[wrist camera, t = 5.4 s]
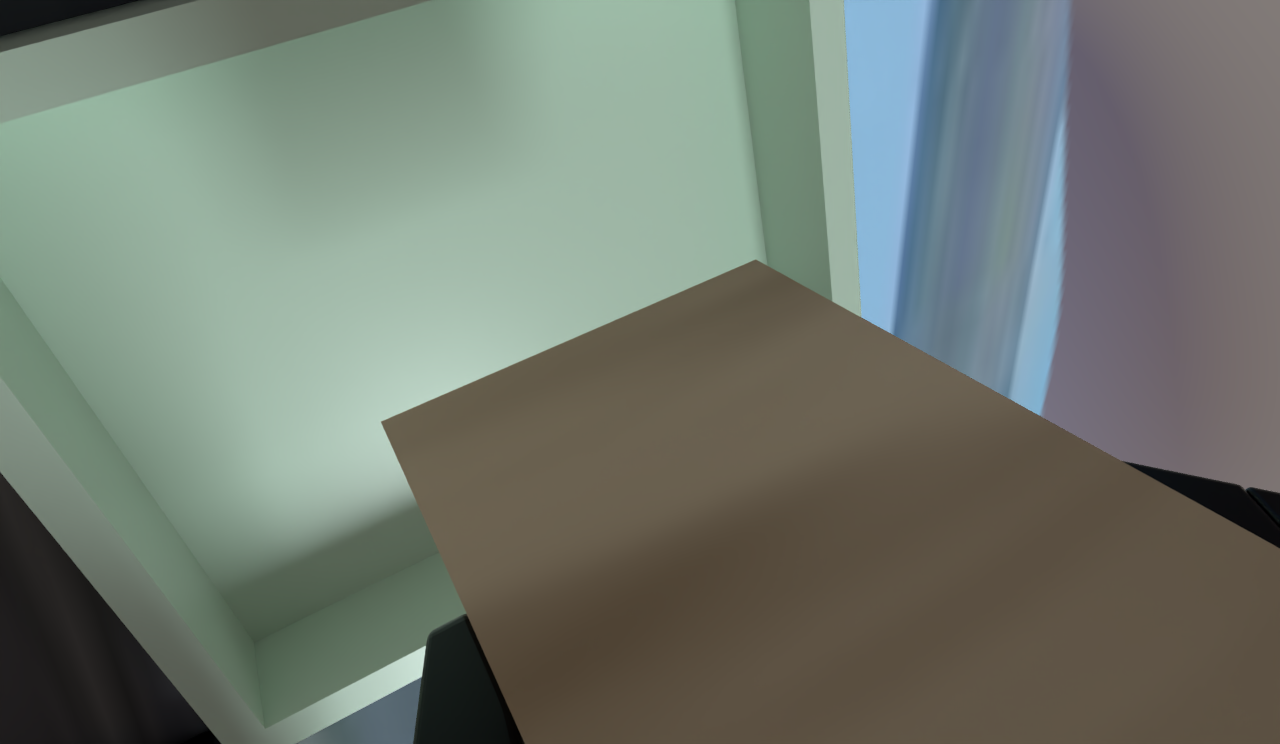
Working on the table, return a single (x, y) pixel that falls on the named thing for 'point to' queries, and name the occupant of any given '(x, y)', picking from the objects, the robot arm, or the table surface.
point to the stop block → (825, 546)
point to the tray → (357, 282)
